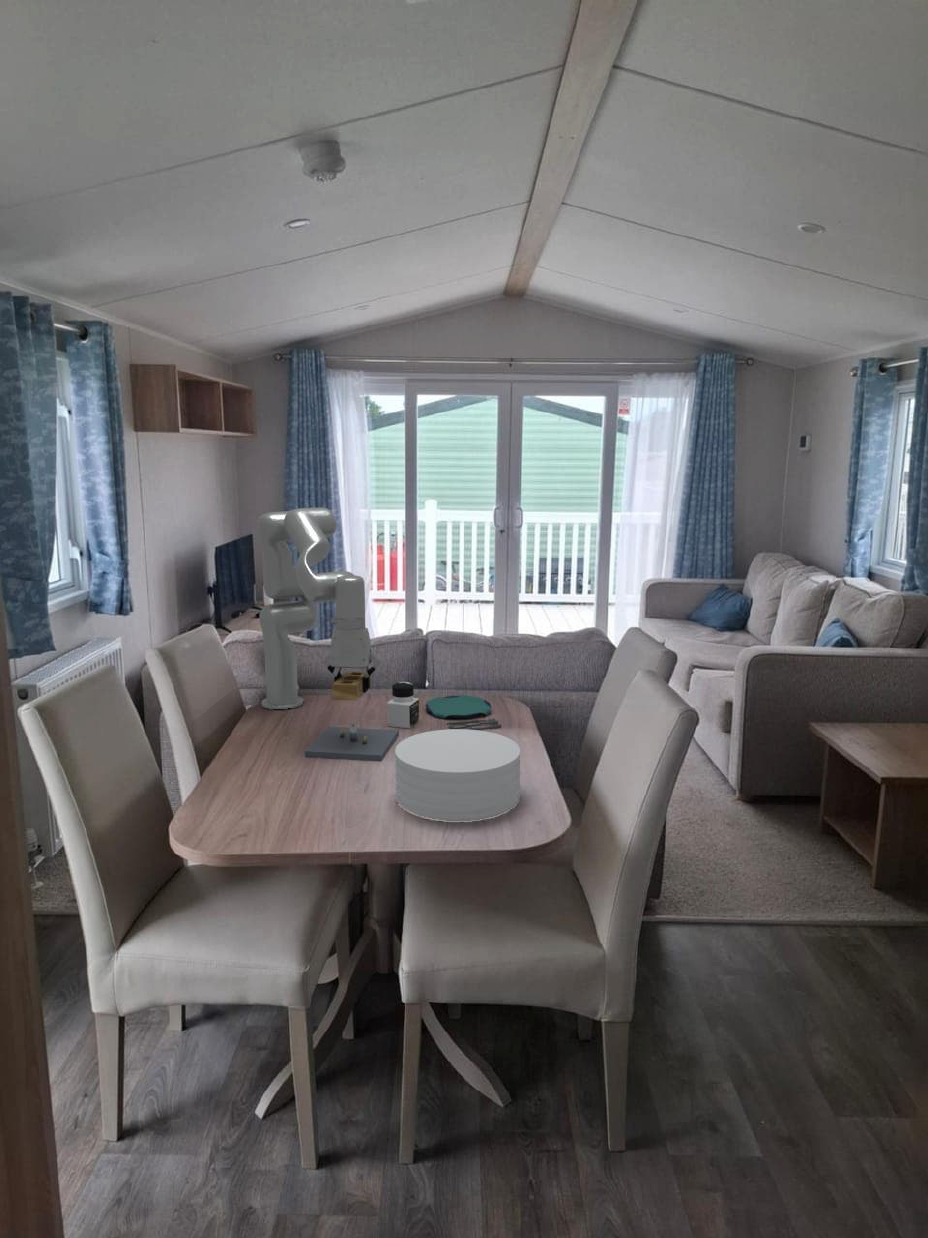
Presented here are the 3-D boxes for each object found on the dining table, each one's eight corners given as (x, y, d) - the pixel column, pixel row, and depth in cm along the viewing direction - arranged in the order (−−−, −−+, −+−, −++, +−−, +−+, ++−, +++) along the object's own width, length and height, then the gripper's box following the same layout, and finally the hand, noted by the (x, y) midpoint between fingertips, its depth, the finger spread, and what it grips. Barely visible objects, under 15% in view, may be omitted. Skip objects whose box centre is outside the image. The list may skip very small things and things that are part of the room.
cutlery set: (481, 699, 268) (481, 692, 267) (508, 730, 239) (508, 723, 239) (419, 704, 263) (419, 697, 262) (439, 736, 234) (439, 728, 234)
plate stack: (369, 800, 190) (368, 751, 187) (451, 765, 211) (451, 721, 209) (465, 836, 172) (465, 782, 170) (543, 794, 193) (545, 746, 191)
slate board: (328, 731, 235) (328, 726, 235) (398, 735, 233) (398, 730, 232) (305, 756, 216) (304, 751, 216) (381, 761, 213) (381, 755, 213)
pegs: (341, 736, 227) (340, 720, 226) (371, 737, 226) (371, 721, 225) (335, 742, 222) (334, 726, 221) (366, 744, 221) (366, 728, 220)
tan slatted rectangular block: (348, 685, 229) (347, 670, 228) (371, 686, 228) (370, 671, 227) (332, 699, 215) (332, 684, 214) (357, 700, 214) (356, 685, 213)
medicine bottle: (410, 729, 238) (409, 688, 236) (386, 726, 240) (386, 685, 238) (419, 721, 245) (419, 681, 242) (396, 719, 247) (396, 679, 245)
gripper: (313, 625, 216) (316, 693, 219) (379, 627, 213) (381, 696, 216) (322, 619, 223) (324, 685, 226) (386, 621, 220) (388, 688, 224)
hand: (352, 690), depth 221 cm, fingers closed on tan slatted rectangular block, 6 cm apart
